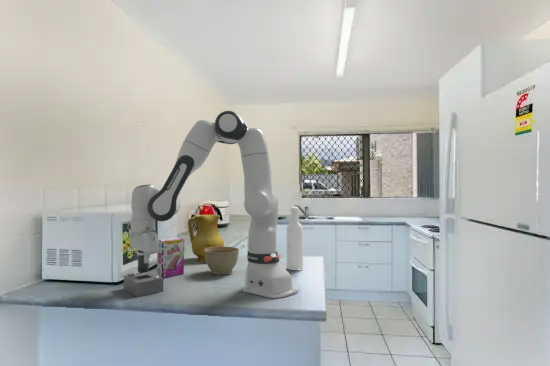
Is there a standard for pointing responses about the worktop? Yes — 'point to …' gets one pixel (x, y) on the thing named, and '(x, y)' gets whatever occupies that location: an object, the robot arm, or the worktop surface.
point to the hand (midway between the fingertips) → (143, 261)
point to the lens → (142, 266)
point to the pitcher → (204, 234)
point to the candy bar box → (170, 257)
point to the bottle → (294, 242)
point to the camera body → (143, 283)
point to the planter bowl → (221, 259)
